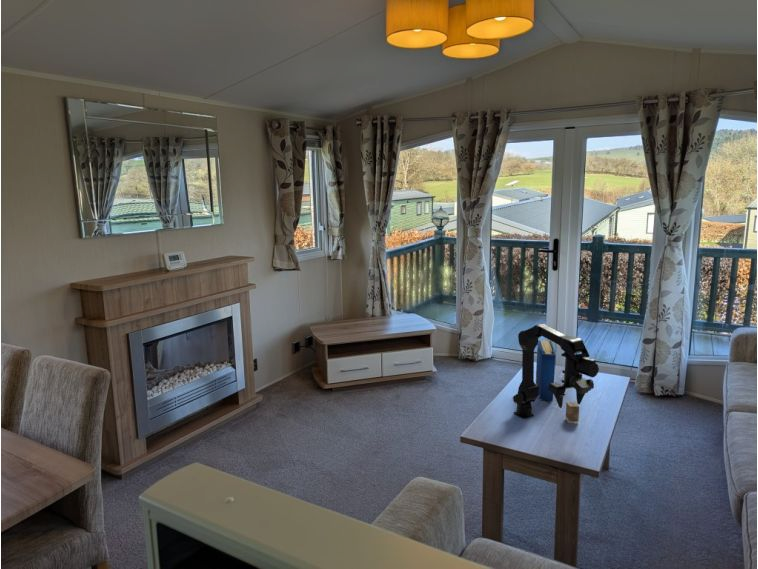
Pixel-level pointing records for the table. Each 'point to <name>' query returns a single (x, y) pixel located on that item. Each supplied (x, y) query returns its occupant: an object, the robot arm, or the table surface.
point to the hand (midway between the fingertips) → (569, 405)
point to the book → (545, 369)
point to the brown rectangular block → (572, 412)
